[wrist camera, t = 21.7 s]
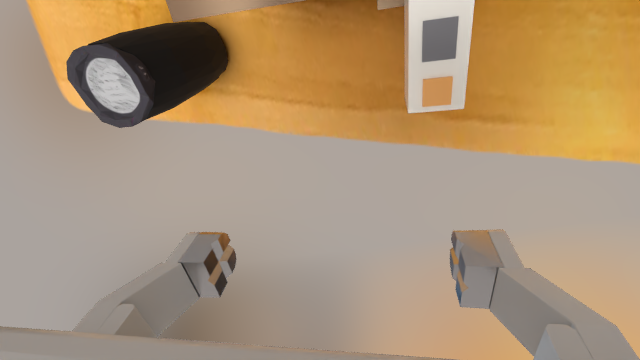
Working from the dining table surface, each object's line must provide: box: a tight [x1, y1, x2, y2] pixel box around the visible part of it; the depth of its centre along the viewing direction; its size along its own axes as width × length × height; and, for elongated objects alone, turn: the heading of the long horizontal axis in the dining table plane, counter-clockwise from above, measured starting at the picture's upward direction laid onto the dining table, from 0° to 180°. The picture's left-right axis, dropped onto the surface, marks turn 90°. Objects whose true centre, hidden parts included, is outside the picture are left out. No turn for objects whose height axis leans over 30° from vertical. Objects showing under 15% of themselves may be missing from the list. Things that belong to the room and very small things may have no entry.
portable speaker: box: [67, 22, 228, 128], centre depth 37 cm, size 9×9×20 cm
